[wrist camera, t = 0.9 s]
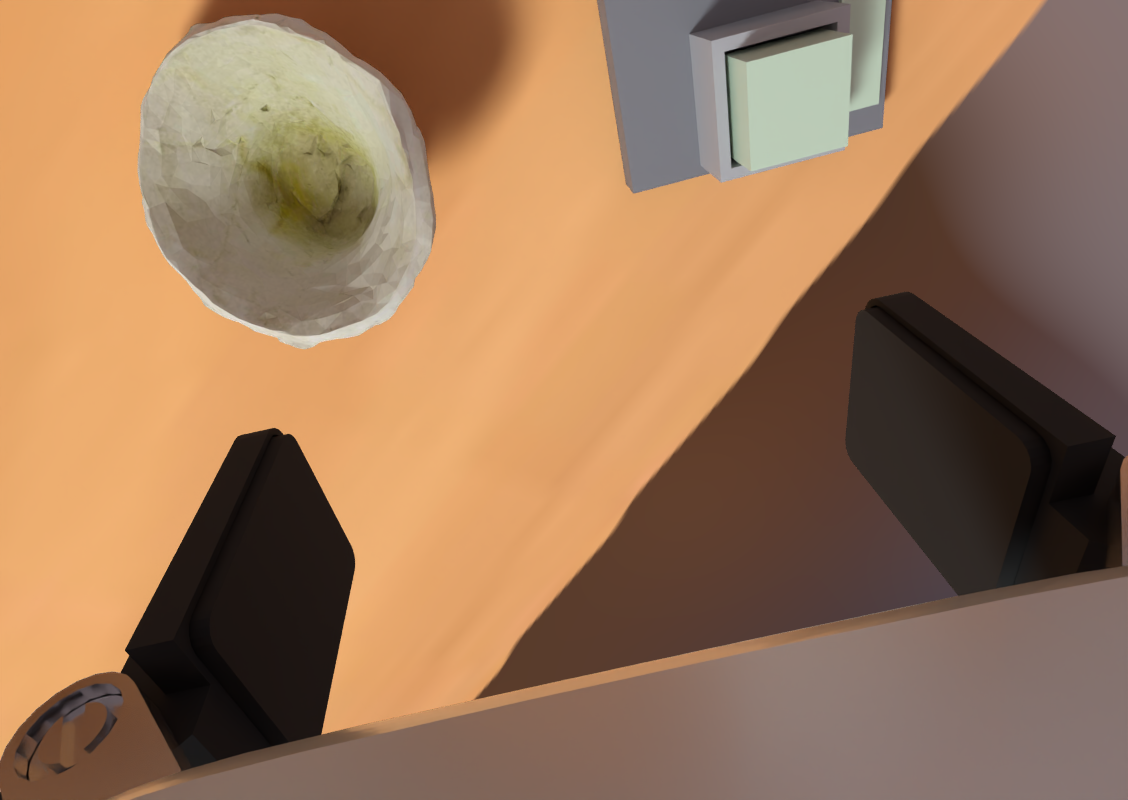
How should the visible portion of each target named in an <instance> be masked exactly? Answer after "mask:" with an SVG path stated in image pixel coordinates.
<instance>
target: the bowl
mask: <svg viewBox="0 0 1128 800" xmlns="http://www.w3.org/2000/svg"><path fill="white" fill-rule="evenodd" d="M138 176H139V184H140V188H141V192H142V196H143V200H142V204H143V207H144V211H145V219H146V223H147V226H148V228H149V229H150V231H151V232H152V233H153V236H154V238H155V241H156V243H157V245H158V247H159V249H160V250H161V252H162V254H163V256H164V257H165V259H166V260H167V261H168V263H169V264H170V265H171V266H172V267H173V268H174V269H175V270H176V271H177V272H178V273H179V274H180V275H181V276H182V277H183V278H184V279H185V280H186V281H187V282H188V284H189V285H190V286H191V288H192V289H193V291H194V292H195V293H196V294H197V295H198V296H199V297H200V298H201V300H202V302H203V303H204V305H205V306H206V307H208V308H209V309H211V310H212V311H214V312H216V313H217V314H219V315H221V316H223V317H225V318H228V319H230V320H232V321H237V322H239V323H241V324H243V325H245V326H247V327H249V328H250V329H252V330H253V331H256V332H259V333H262V334H266V335H269V336H273V337H277V338H278V339H279V341H280V342H283V343H285V344H289V345H291V346H294V347H296V348H301V349H307V348H311V347H314V346H316V345H317V344H318V343H320V342H323V341H328V340H333V339H341V338H349V337H354V336H359V335H360V334H362V333H363V332H365V331H366V330H368V329H370V328H372V327H373V326H375V325H380V324H381V323H383V322H385V321H387V320H388V319H390V317H391V316H392V315H393V314H394V313H395V312H396V310H397V308H398V306H399V305H400V303H401V302H402V301H403V300H404V299H405V297H406V296H407V295H408V293H409V292H410V291H411V289H412V288H413V286H414V281H415V278H416V277H417V275H418V274H419V273H420V271H421V270H422V268H423V266H424V264H425V263H426V261H427V259H428V256H429V254H430V252H431V248H432V243H433V238H434V234H435V229H436V214H435V208H434V198H433V192H432V187H431V182H430V177H429V170H428V163H427V155H426V147H425V141H424V139H423V136H422V134H421V131H420V129H419V128H418V127H417V126H416V123H415V120H414V117H413V114H412V111H411V110H410V108H409V106H408V104H407V103H406V101H405V99H404V97H403V95H402V93H401V92H400V91H399V90H398V89H397V88H395V87H394V86H393V85H392V83H391V82H390V81H389V80H388V79H387V78H386V77H385V76H384V75H383V74H382V73H381V72H380V71H378V70H377V69H375V68H374V67H372V66H371V65H369V64H368V63H366V62H365V61H363V60H361V59H359V58H357V57H354V56H353V55H352V54H351V53H350V52H349V51H348V50H347V49H346V48H345V47H343V46H342V45H341V44H340V43H339V42H337V41H336V40H335V39H333V38H332V37H331V36H329V35H328V34H327V33H325V32H323V31H321V30H318V29H316V28H314V27H312V26H311V25H309V24H308V23H306V22H305V21H304V20H302V19H298V18H292V17H288V16H285V15H281V14H277V13H275V14H264V15H258V14H256V15H243V16H230V17H224V18H222V19H220V20H218V21H217V22H213V23H203V24H196V25H194V26H192V27H191V28H190V30H189V32H188V33H187V34H186V35H185V37H184V38H183V39H182V40H181V41H180V42H179V43H178V44H177V45H175V46H174V47H173V48H172V49H171V50H170V51H169V52H168V53H167V55H166V56H165V58H164V60H163V62H162V63H161V65H160V67H159V68H158V70H157V71H156V73H155V75H154V76H153V79H152V83H151V86H150V88H149V90H148V91H147V93H146V95H145V97H144V98H143V101H142V105H141V130H140V146H139V153H138Z"/></svg>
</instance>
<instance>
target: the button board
mask: <svg viewBox="0 0 1128 800" xmlns="http://www.w3.org/2000/svg"><path fill="white" fill-rule="evenodd" d="M597 3H598V9H599V15H600V22H601V28H602V34H603V41H604V47H605V53H606V60H607V66H608V72H609V79H610V85H611V91H612V98H613V104H614V110H615V117H616V123H617V130H618V136H619V142H620V149H621V155H622V161H623V168H624V174H625V180H626V184H627V186H628V187H629V188H630V190H631V191H632V192H633V193H638V192H641V191H645V190H649V189H653V188H656V187H660V186H664V185H668V184H672V183H675V182H679V181H683V180H687V179H691V178H694V177H698V176H702V175H706V174H709V173H710V174H712V175H713V176H714V177H715V178H716V179H718V180H719V181H720V182H725V181H729V180H732V179H736V178H740V177H744V176H748V175H751V174H755V173H759V172H763V171H767V170H770V169H774V168H778V167H782V166H785V165H789V164H793V163H797V162H801V161H804V160H808V159H812V158H816V157H820V156H823V155H827V154H831V153H835V152H839V151H842V150H845V147H842V148H838V149H834V150H831V151H827V152H823V153H819V154H815V155H812V156H808V157H804V158H800V159H796V160H793V161H789V162H785V163H781V164H778V165H774V166H770V167H766V168H762V169H759V170H755V171H749V170H748V169H747V168H745V167H744V166H742V165H741V164H740V163H738V162H737V161H735V160H734V159H733V158H731V154H730V137H729V121H728V104H727V88H726V71H725V54H728V53H731V52H735V51H739V50H743V49H746V48H750V47H754V46H758V45H761V44H765V43H769V42H773V41H777V40H780V39H784V38H788V37H792V36H795V35H799V34H803V33H807V32H810V31H814V30H818V29H827V30H833V31H838V32H843V33H849V34H853V39H852V62H851V85H850V107H849V130H848V137H849V136H853V135H857V134H861V133H865V132H868V131H872V130H876V129H880V128H882V127H883V114H884V100H885V87H886V73H887V60H888V46H889V32H890V19H891V5H892V0H597Z"/></svg>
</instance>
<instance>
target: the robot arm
mask: <svg viewBox="0 0 1128 800" xmlns="http://www.w3.org/2000/svg"><path fill="white" fill-rule="evenodd" d="M1115 437H1116V436H1115V435H1113V434H1112V433H1111V432H1109V431H1108V430H1106V429H1105V428H1103V427H1102V426H1101V425H1099V424H1097V423H1096V422H1095V421H1093V420H1092V419H1090V418H1089V417H1088V416H1086V415H1085V414H1083V413H1082V412H1081V411H1079V410H1078V409H1076V408H1075V407H1074V406H1072V405H1071V404H1069V403H1068V402H1066V401H1065V400H1064V399H1062V398H1061V397H1059V396H1058V395H1057V394H1055V393H1054V392H1052V391H1051V390H1049V389H1048V388H1047V387H1045V386H1043V385H1042V384H1041V383H1039V382H1038V381H1036V380H1035V379H1034V378H1032V377H1031V376H1029V375H1028V374H1027V373H1025V372H1024V371H1022V370H1021V369H1019V368H1018V367H1017V366H1015V365H1014V364H1012V363H1011V362H1010V361H1008V360H1007V359H1005V358H1004V357H1002V356H1001V355H1000V354H998V353H996V352H995V351H994V350H992V349H991V348H990V347H988V346H987V345H985V344H984V343H982V342H981V341H979V340H978V339H977V338H975V337H974V336H972V335H971V334H970V333H968V332H967V331H965V330H964V329H963V328H961V327H960V326H958V325H957V324H955V323H954V322H953V321H951V320H950V319H948V318H946V317H945V316H944V315H943V314H941V313H940V312H938V311H937V310H935V309H934V308H933V307H931V306H930V305H928V304H927V303H925V302H924V301H923V300H921V299H920V298H918V297H917V296H915V295H914V294H912V293H910V292H903V293H898V294H894V295H889V296H884V297H879V298H875V299H871V300H870V301H869V302H868V303H867V306H866V308H865V310H861V311H860V312H858V315H857V317H856V325H855V336H854V347H853V359H852V370H851V383H850V394H849V405H848V417H847V428H846V449H847V452H848V455H849V457H850V459H851V461H852V462H853V463H854V465H855V466H856V467H857V469H858V470H859V471H860V472H861V474H862V475H863V476H864V477H865V479H866V480H867V481H868V482H869V484H870V485H871V486H872V487H873V489H874V490H875V491H876V492H877V494H878V495H879V496H880V497H881V499H882V500H883V501H884V503H885V504H886V505H887V506H888V507H889V509H890V510H891V511H892V513H893V514H894V515H895V516H896V518H897V519H898V520H899V521H900V523H901V524H902V525H903V526H904V528H905V529H906V530H907V531H908V533H909V534H910V535H911V537H912V538H913V539H914V540H915V542H916V543H917V544H918V545H919V547H920V548H921V549H922V550H923V552H924V553H925V554H926V555H927V557H928V558H929V559H930V560H931V562H932V563H933V564H934V565H935V567H936V568H937V569H938V570H939V572H940V573H941V574H942V576H943V577H944V578H945V579H946V581H947V582H948V583H949V584H950V586H951V587H952V588H953V589H954V591H955V592H956V593H957V594H958V596H956V597H951V598H946V599H941V600H937V601H932V602H927V603H922V604H918V605H914V606H908V607H903V608H899V609H894V610H889V611H884V612H880V613H875V614H870V615H865V616H861V617H856V618H851V619H846V620H842V621H837V622H832V623H828V624H823V625H818V626H813V627H809V628H804V629H799V630H794V631H790V632H785V633H780V634H775V635H771V636H766V637H761V638H757V639H752V640H748V641H743V642H738V643H734V644H729V645H724V646H720V647H716V648H710V649H706V650H701V651H696V652H692V653H687V654H683V655H678V656H673V657H669V658H664V659H659V660H655V661H650V662H646V663H641V664H637V665H632V666H627V667H623V668H618V669H613V670H609V671H604V672H600V673H595V674H591V675H586V676H581V677H576V678H572V679H567V680H563V681H558V682H553V683H549V684H545V685H540V686H535V687H531V688H526V689H522V690H517V691H513V692H509V693H504V694H499V695H495V696H490V697H486V698H481V699H477V700H472V701H468V702H463V703H459V704H454V705H450V706H445V707H441V708H436V709H432V710H427V711H423V712H418V713H414V714H409V715H405V716H400V717H396V718H391V719H387V720H382V721H378V722H373V723H369V724H364V725H360V726H356V727H352V728H347V729H343V730H339V731H335V732H331V733H327V734H322V735H321V733H322V728H323V723H324V718H325V713H326V709H327V704H328V699H329V694H330V689H331V684H332V679H333V674H334V669H335V664H336V659H337V654H338V649H339V644H340V640H341V635H342V630H343V625H344V620H345V615H346V610H347V605H348V600H349V595H350V590H351V585H352V580H353V575H354V571H355V557H354V552H353V549H352V547H351V545H350V543H349V541H348V539H347V537H346V535H345V533H344V531H343V529H342V527H341V525H340V523H339V521H338V520H337V518H336V516H335V514H334V512H333V510H332V508H331V506H330V504H329V502H328V500H327V498H326V496H325V494H324V493H323V491H322V489H321V487H320V485H319V483H318V481H317V479H316V477H315V475H314V473H313V471H312V469H311V468H310V466H309V464H308V462H307V460H306V458H305V456H304V454H303V452H302V450H301V448H300V446H299V444H298V443H297V441H296V439H295V438H294V437H293V436H292V435H291V434H286V435H283V433H282V432H281V431H280V430H278V429H276V428H272V429H267V430H263V431H258V432H253V433H249V434H244V435H240V436H238V437H237V438H236V439H235V441H234V443H233V445H232V447H231V449H230V450H229V452H228V454H227V456H226V458H225V460H224V462H223V464H222V466H221V468H220V470H219V471H218V473H217V475H216V477H215V479H214V481H213V483H212V485H211V487H210V489H209V491H208V492H207V494H206V496H205V498H204V500H203V502H202V504H201V506H200V508H199V510H198V512H197V513H196V515H195V517H194V519H193V521H192V523H191V525H190V527H189V529H188V531H187V533H186V534H185V536H184V538H183V540H182V542H181V544H180V546H179V548H178V550H177V552H176V554H175V555H174V557H173V559H172V561H171V563H170V565H169V567H168V569H167V571H166V573H165V575H164V576H163V578H162V580H161V582H160V584H159V586H158V588H157V590H156V592H155V594H154V596H153V597H152V599H151V601H150V603H149V605H148V607H147V609H146V611H145V613H144V615H143V617H142V618H141V620H140V622H139V624H138V626H137V628H136V630H135V632H134V634H133V636H132V638H131V639H130V641H129V643H128V645H127V647H126V649H125V651H126V652H127V653H128V654H129V657H128V659H127V661H126V663H125V665H124V667H123V669H122V671H121V673H117V672H107V673H100V674H95V675H92V676H90V677H87V678H85V679H82V680H79V681H77V682H75V683H73V684H72V685H70V686H68V687H67V688H65V689H63V690H61V691H60V692H58V693H56V694H55V695H54V696H53V697H51V698H50V699H49V700H48V701H46V702H45V703H44V704H43V705H41V706H40V707H39V708H37V709H36V710H35V711H34V712H33V713H32V715H31V716H30V717H29V718H28V719H27V720H26V721H25V722H24V723H23V724H22V725H21V726H20V727H19V728H18V730H17V731H16V733H15V734H14V736H13V737H12V739H11V740H10V742H9V743H8V745H7V746H6V748H5V750H4V753H3V755H2V758H1V760H0V791H1V792H0V800H1128V456H1127V457H1124V456H1122V455H1121V454H1120V453H1118V452H1117V451H1115V450H1114V449H1113V448H1111V447H1112V445H1113V442H1114V439H1115Z"/></svg>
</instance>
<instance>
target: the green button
mask: <svg viewBox="0 0 1128 800" xmlns="http://www.w3.org/2000/svg"><path fill="white" fill-rule="evenodd" d="M852 39H853V34H849V33H843V32H838V31H833V30H827V29H818V30H814V31H810V32H807V33H803V34H799V35H795V36H792V37H788V38H784V39H780V40H777V41H773V42H769V43H765V44H761V45H758V46H754V47H750V48H746V49H743V50H739V51H735V52H731V53H728V54H725V71H726V88H727V104H728V121H729V137H730V154H731V158H733V159H734V160H735V161H737V162H738V163H740V164H741V165H742V166H744V167H745V168H747V169H748V170H749V171H755V170H759V169H762V168H766V167H770V166H774V165H778V164H781V163H785V162H789V161H793V160H796V159H800V158H804V157H808V156H812V155H815V154H819V153H823V152H827V151H831V150H834V149H838V148H842V147H846V146H848V130H849V107H850V85H851V62H852Z"/></svg>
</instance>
